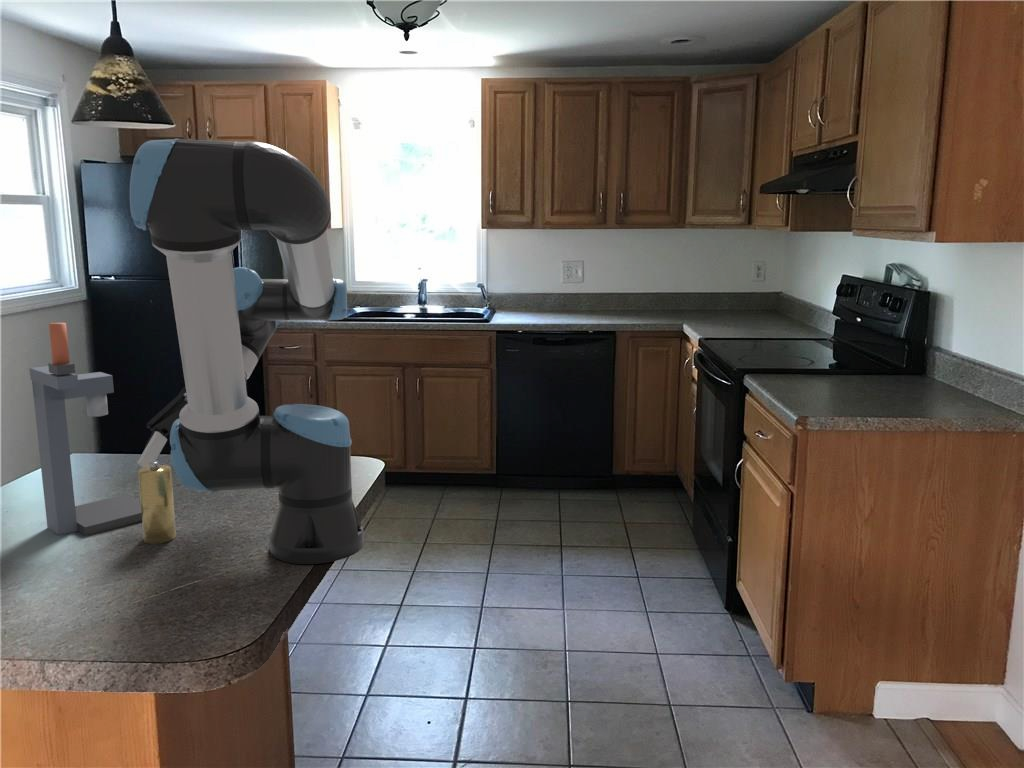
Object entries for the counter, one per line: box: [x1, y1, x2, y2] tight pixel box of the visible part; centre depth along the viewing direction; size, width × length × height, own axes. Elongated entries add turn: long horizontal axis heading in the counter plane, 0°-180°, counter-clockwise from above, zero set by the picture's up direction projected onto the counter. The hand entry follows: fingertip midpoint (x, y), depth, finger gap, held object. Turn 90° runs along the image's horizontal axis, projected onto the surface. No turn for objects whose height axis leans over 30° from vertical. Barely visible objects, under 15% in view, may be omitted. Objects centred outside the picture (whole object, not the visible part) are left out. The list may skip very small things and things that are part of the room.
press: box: [28, 365, 142, 536], centre depth 139 cm, size 15×15×28 cm
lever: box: [47, 322, 76, 375], centre depth 127 cm, size 4×3×8 cm
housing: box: [137, 460, 177, 545], centre depth 133 cm, size 5×5×13 cm
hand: (173, 472), depth 137 cm, fingers open, 13 cm apart
